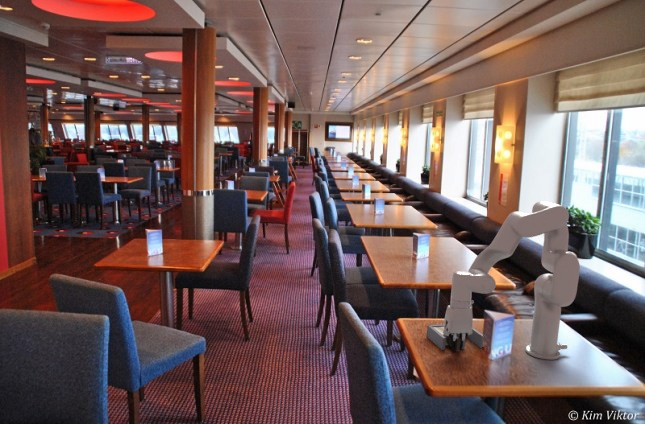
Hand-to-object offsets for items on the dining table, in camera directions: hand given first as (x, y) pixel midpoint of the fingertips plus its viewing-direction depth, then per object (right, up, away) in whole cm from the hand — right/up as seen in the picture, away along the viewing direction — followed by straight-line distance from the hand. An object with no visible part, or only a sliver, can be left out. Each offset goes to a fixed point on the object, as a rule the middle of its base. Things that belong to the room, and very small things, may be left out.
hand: (456, 349), depth 204 cm
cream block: (-2, 0, +7) cm, 7 cm away
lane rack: (+2, 0, +10) cm, 10 cm away
